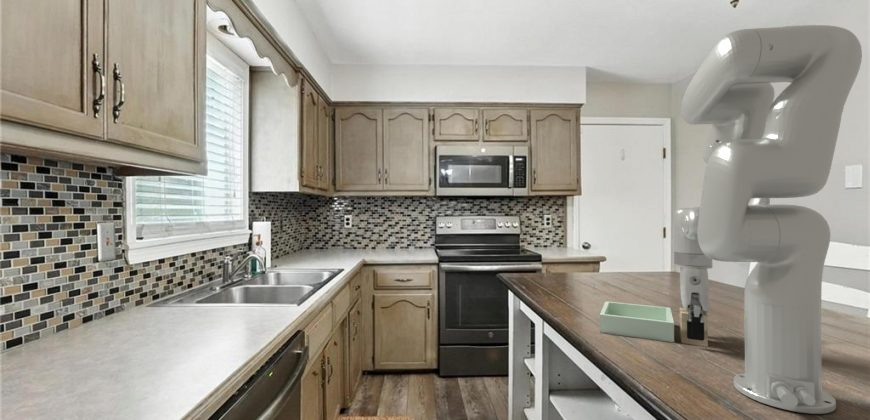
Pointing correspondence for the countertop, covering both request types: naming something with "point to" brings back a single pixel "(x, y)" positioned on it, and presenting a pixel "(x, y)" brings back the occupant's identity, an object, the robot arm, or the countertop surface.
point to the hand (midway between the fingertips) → (693, 333)
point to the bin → (637, 321)
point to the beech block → (684, 329)
